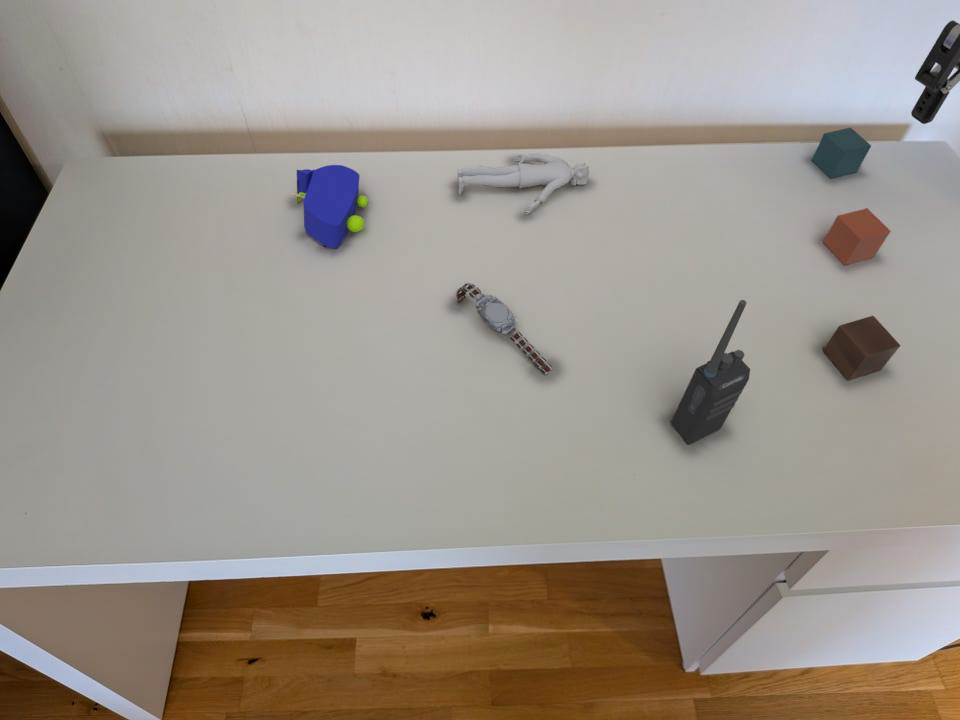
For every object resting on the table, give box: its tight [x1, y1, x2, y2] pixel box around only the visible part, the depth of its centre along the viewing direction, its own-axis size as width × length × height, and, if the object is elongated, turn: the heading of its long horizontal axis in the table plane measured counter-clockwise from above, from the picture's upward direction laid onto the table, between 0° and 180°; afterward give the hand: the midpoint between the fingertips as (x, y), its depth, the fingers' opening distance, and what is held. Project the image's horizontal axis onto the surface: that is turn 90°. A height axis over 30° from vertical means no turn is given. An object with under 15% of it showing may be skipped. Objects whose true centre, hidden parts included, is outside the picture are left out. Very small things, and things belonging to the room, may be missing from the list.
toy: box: [291, 164, 369, 249], centre depth 89 cm, size 12×6×10 cm
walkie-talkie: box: [670, 299, 751, 445], centre depth 63 cm, size 5×3×20 cm
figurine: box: [457, 152, 590, 215], centre depth 93 cm, size 12×4×18 cm
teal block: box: [811, 127, 872, 179], centre depth 96 cm, size 4×4×4 cm
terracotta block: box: [822, 207, 891, 266], centre depth 85 cm, size 4×4×4 cm
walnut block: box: [822, 315, 902, 381], centre depth 75 cm, size 4×4×4 cm
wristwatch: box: [455, 282, 554, 376], centre depth 78 cm, size 4×14×5 cm, turn 44°
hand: (949, 110), depth 73 cm, fingers open, 8 cm apart
